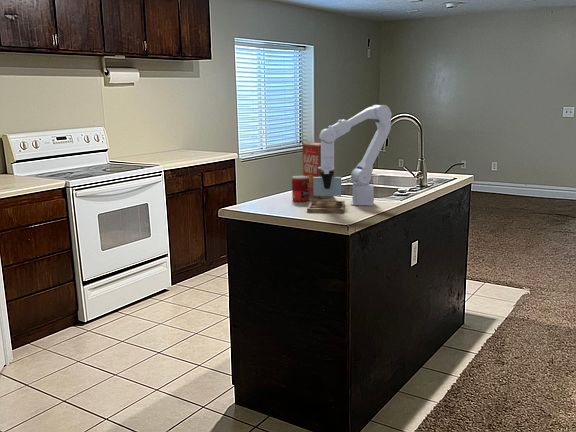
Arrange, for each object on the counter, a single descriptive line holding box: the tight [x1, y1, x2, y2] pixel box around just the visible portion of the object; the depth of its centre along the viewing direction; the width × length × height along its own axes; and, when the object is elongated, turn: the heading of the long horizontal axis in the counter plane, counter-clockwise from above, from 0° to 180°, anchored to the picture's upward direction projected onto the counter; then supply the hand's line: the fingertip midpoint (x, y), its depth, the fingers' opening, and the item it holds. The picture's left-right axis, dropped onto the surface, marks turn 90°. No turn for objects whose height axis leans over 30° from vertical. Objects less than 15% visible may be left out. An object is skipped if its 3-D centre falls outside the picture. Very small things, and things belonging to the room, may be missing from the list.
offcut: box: [316, 200, 336, 206], centre depth 243 cm, size 8×3×3 cm, turn 74°
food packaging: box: [302, 142, 335, 200], centre depth 270 cm, size 13×9×25 cm
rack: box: [306, 200, 345, 214], centre depth 244 cm, size 15×18×2 cm
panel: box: [313, 176, 342, 197], centre depth 248 cm, size 12×2×8 cm, turn 83°
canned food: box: [291, 175, 310, 203], centre depth 261 cm, size 8×8×11 cm
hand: (327, 188), depth 248 cm, fingers closed on panel, 2 cm apart
